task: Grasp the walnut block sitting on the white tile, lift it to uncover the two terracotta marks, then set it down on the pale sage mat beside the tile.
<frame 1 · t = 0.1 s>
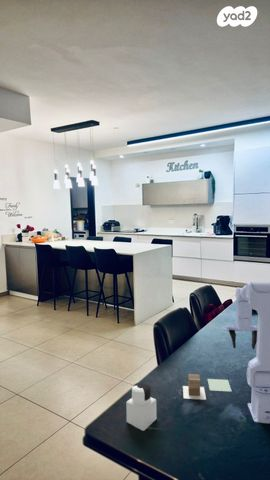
hand: (243, 347, 132), 10 cm above the table, tool pointing down, fingers open, 7 cm apart
walnut block: (194, 392, 117), resting on white tile
white tile: (194, 393, 117), on the table
sage mat: (219, 385, 121), on the table
medicine bottle: (141, 421, 102), on the table
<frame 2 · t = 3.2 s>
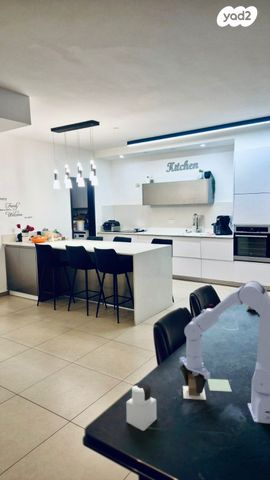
hand: (194, 388, 116), 2 cm above the table, tool pointing down, fingers closed on walnut block, 6 cm apart
walnut block: (194, 392, 117), resting on white tile, touching gripper
everything else where it was.
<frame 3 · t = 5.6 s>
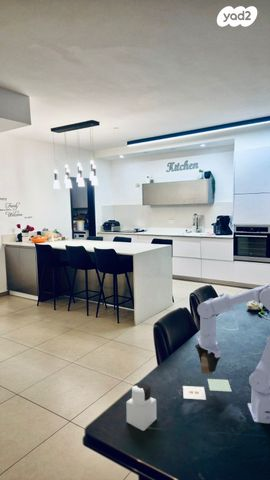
hand: (207, 367, 118), 9 cm above the table, tool pointing down, fingers closed on walnut block, 6 cm apart
walnut block: (207, 371, 118), point 7 cm above the table, touching gripper
everything else where it was.
when the fingers open (3 cm above the table, at t = 8.1 s): walnut block stays where it is, resting on sage mat.
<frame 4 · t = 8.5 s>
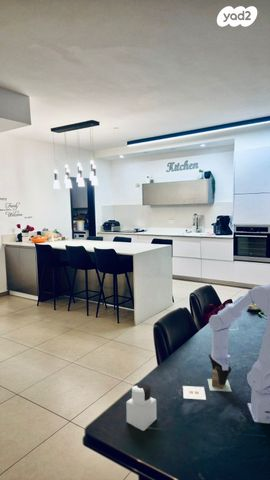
hand: (219, 378, 121), 3 cm above the table, tool pointing down, fingers open, 7 cm apart
walnut block: (218, 385, 121), resting on sage mat
everything else where it was.
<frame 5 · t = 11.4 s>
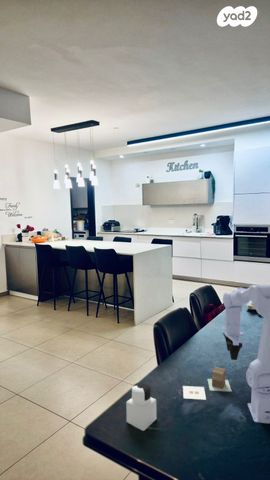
hand: (232, 354, 127), 9 cm above the table, tool pointing down, fingers open, 7 cm apart
nothing on the table moved.
at the end: walnut block 0.2 cm off-centre on the sage mat, point 0.4 cm above the sage mat's base; walnut block tilted 0°; the gripper is holding nothing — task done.
